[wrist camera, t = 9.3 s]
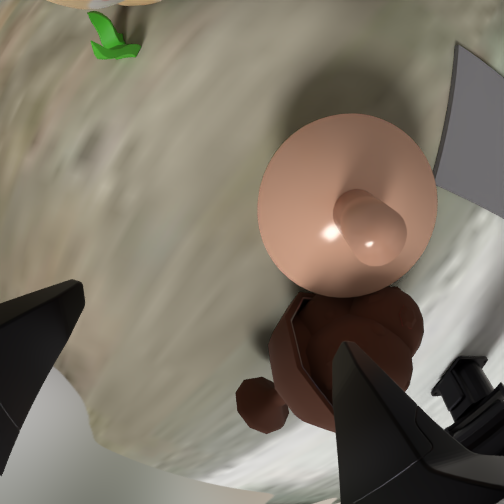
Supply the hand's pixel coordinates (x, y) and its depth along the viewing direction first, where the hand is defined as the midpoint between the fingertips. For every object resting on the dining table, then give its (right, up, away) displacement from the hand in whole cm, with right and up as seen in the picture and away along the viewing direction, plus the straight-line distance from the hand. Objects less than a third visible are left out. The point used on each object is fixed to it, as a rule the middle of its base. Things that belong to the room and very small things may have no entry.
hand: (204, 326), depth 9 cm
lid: (+7, +5, +6) cm, 10 cm away
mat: (+22, +12, +7) cm, 25 cm away
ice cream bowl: (+2, -11, +13) cm, 18 cm away
